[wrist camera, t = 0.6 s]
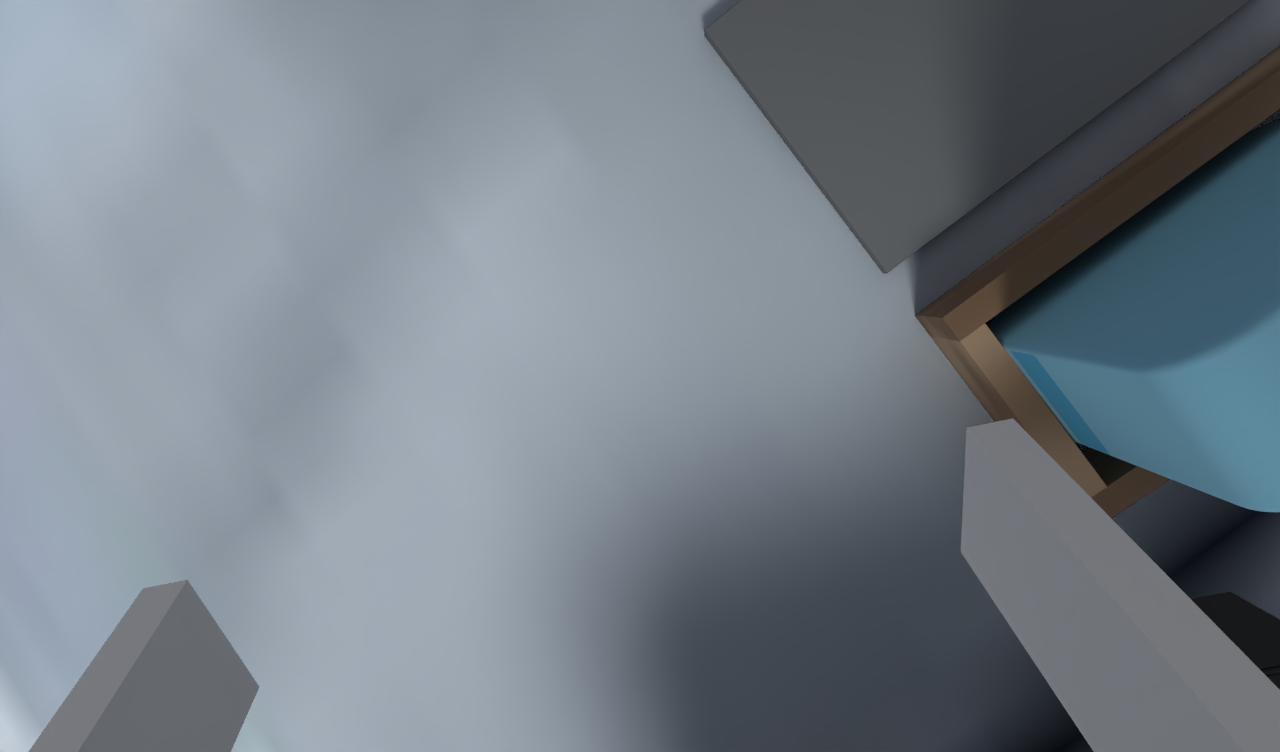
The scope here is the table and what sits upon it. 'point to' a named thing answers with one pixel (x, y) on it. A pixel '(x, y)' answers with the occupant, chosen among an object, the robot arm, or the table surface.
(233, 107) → the table surface
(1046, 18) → the charcoal mat
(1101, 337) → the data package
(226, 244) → the table surface
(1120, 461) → the walnut box
